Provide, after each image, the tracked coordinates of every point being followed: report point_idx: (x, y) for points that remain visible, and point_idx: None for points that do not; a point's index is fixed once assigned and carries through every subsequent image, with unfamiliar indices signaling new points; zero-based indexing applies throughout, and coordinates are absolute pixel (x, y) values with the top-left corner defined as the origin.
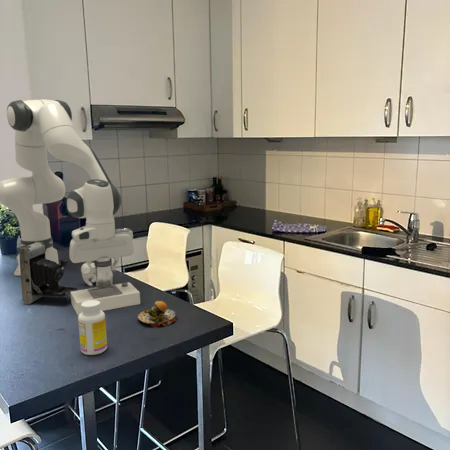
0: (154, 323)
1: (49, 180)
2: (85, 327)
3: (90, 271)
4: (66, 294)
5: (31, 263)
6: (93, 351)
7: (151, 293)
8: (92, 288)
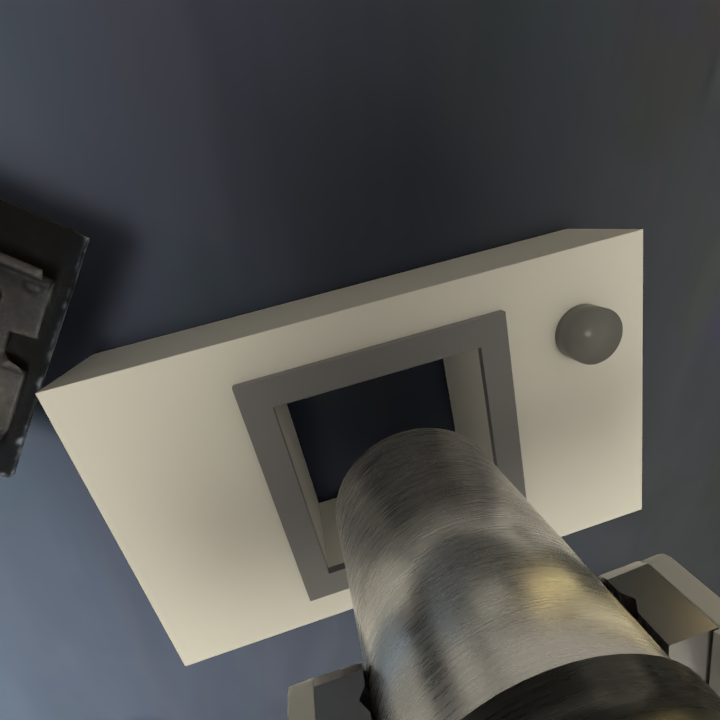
0: None
1: None
2: None
3: (290, 713)
4: (10, 425)
5: None
6: None
7: (695, 280)
8: (277, 340)
